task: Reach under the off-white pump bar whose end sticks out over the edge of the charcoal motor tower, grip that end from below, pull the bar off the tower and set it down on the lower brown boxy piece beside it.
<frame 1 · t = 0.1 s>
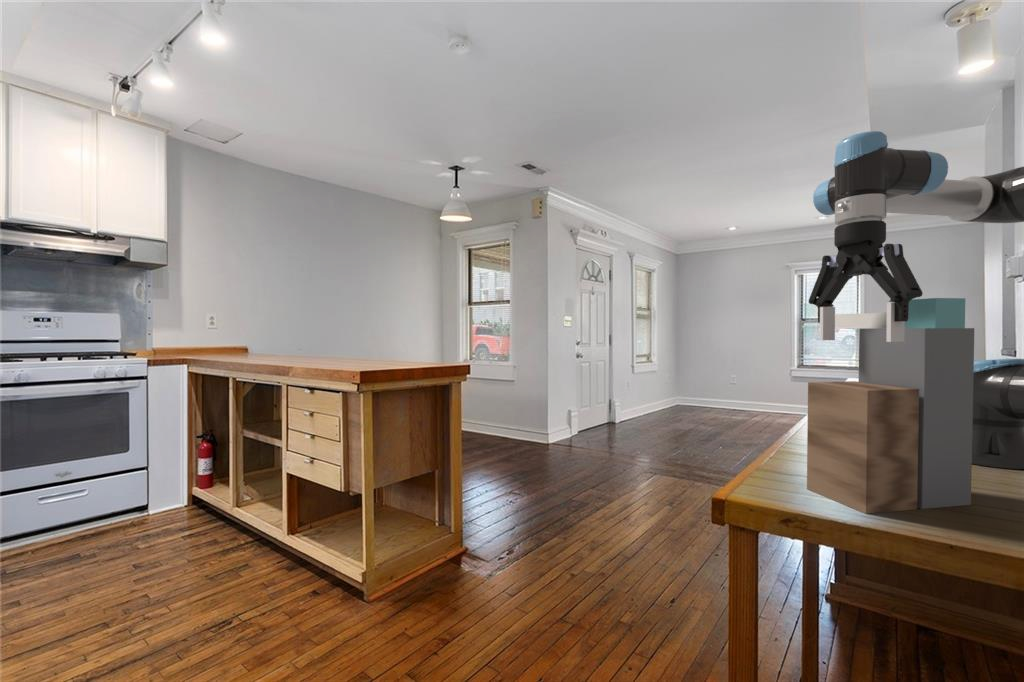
hand: (858, 341, 85), 28 cm above the table, fingers open, 13 cm apart
brown boxy piece: (858, 498, 83), on the table
pump bar: (886, 328, 89), point 30 cm above the table, touching motor tower
motor tower: (910, 494, 85), on the table
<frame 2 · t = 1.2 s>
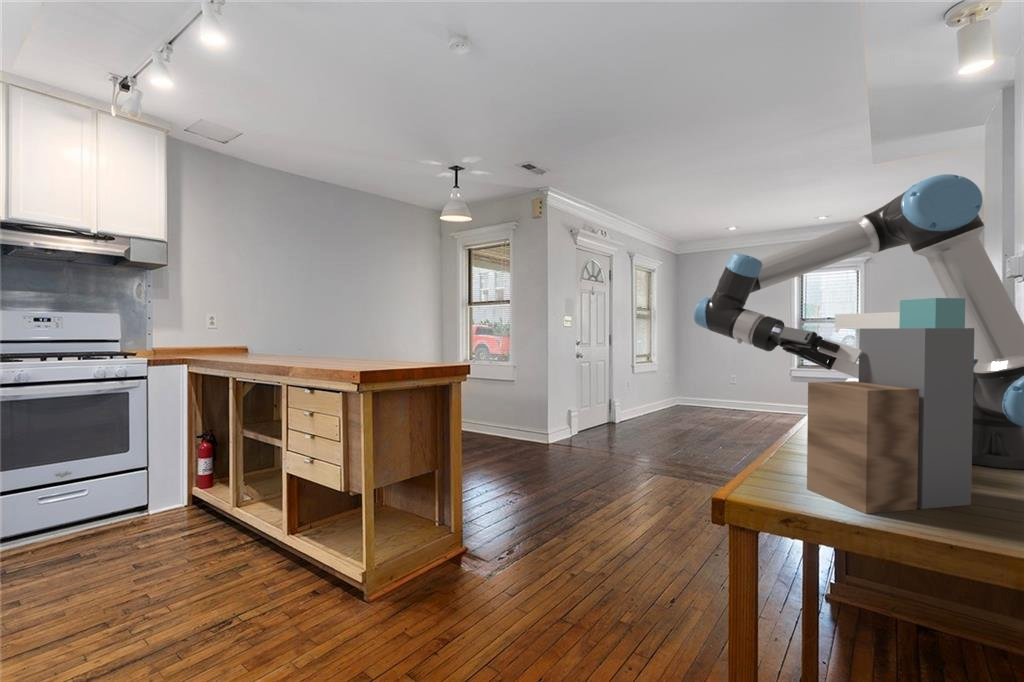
hand: (864, 366, 93), 22 cm above the table, fingers open, 13 cm apart
nothing on the table moved.
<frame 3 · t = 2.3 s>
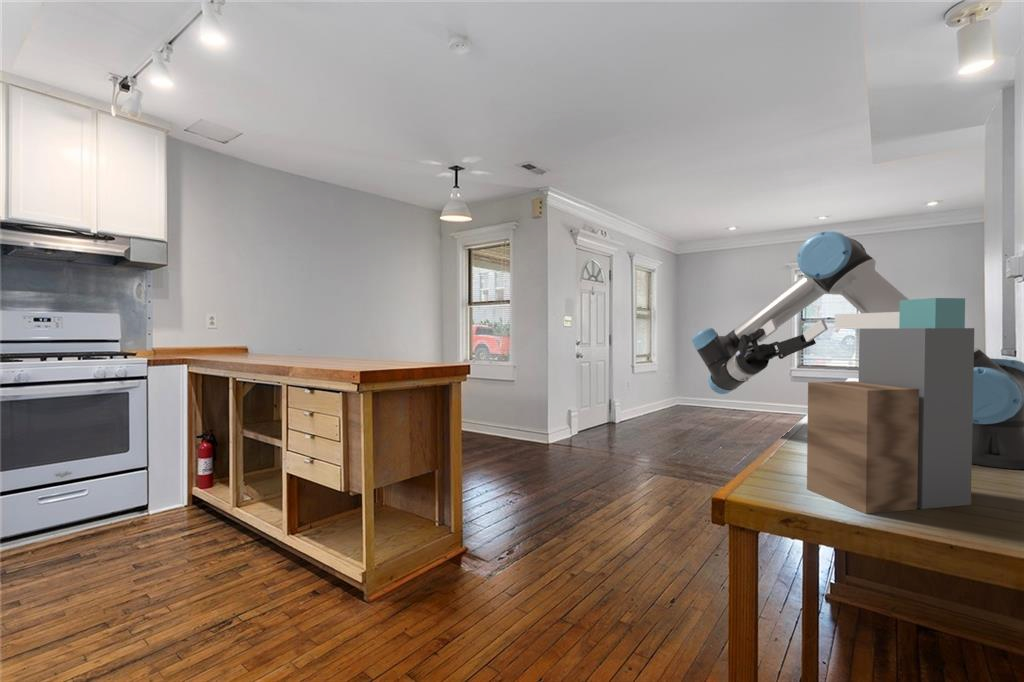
hand: (799, 324, 112), 31 cm above the table, fingers open, 13 cm apart
nothing on the table moved.
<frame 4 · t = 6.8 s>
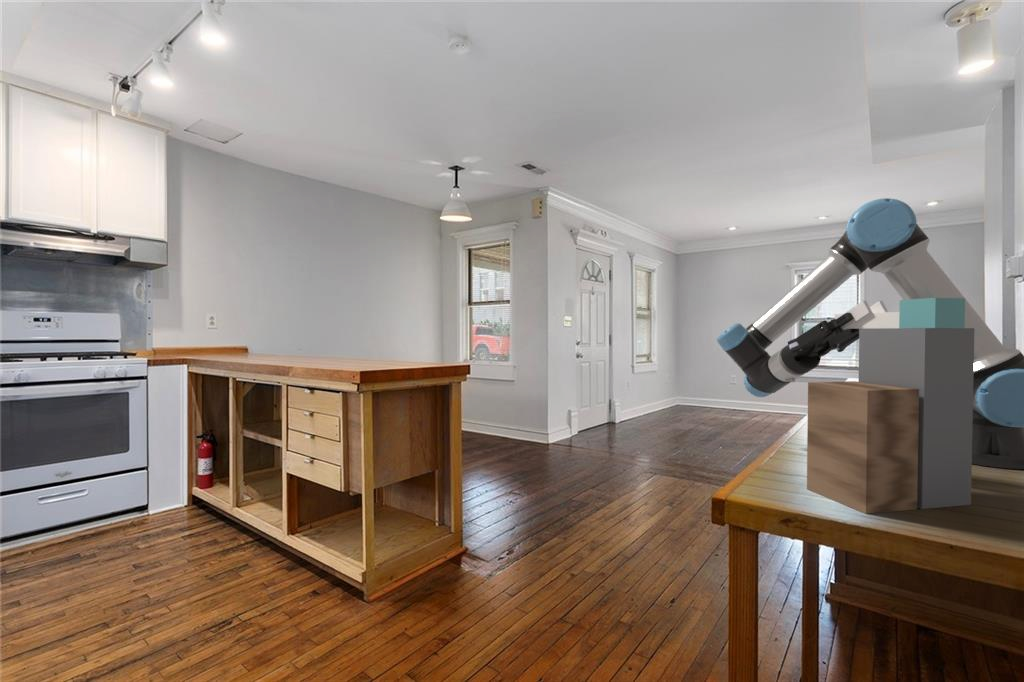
hand: (875, 306, 91), 34 cm above the table, fingers closed on pump bar, 3 cm apart
pump bar: (886, 328, 89), point 30 cm above the table, touching gripper
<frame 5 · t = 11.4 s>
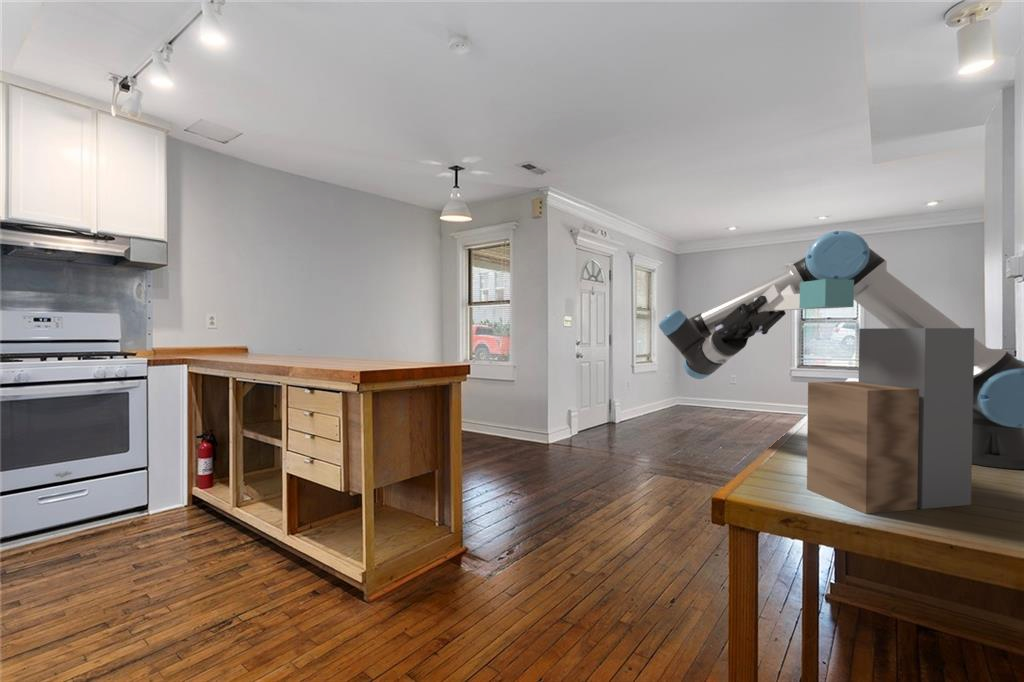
hand: (785, 289, 99), 38 cm above the table, fingers closed on pump bar, 3 cm apart
pump bar: (793, 309, 97), point 34 cm above the table, touching gripper
when the fingers open (26 cm above the table, at t = 16.4 s): pump bar drops 1 cm, resting on brown boxy piece.
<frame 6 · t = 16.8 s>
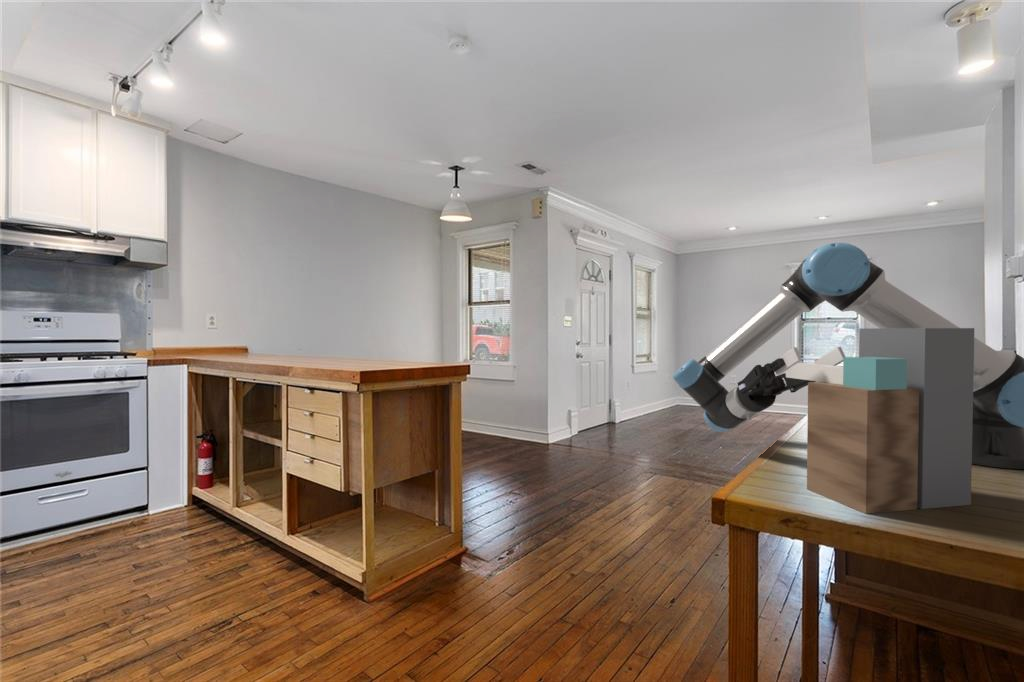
hand: (820, 353, 90), 25 cm above the table, fingers open, 9 cm apart
pump bar: (833, 382, 87), point 20 cm above the table, touching brown boxy piece
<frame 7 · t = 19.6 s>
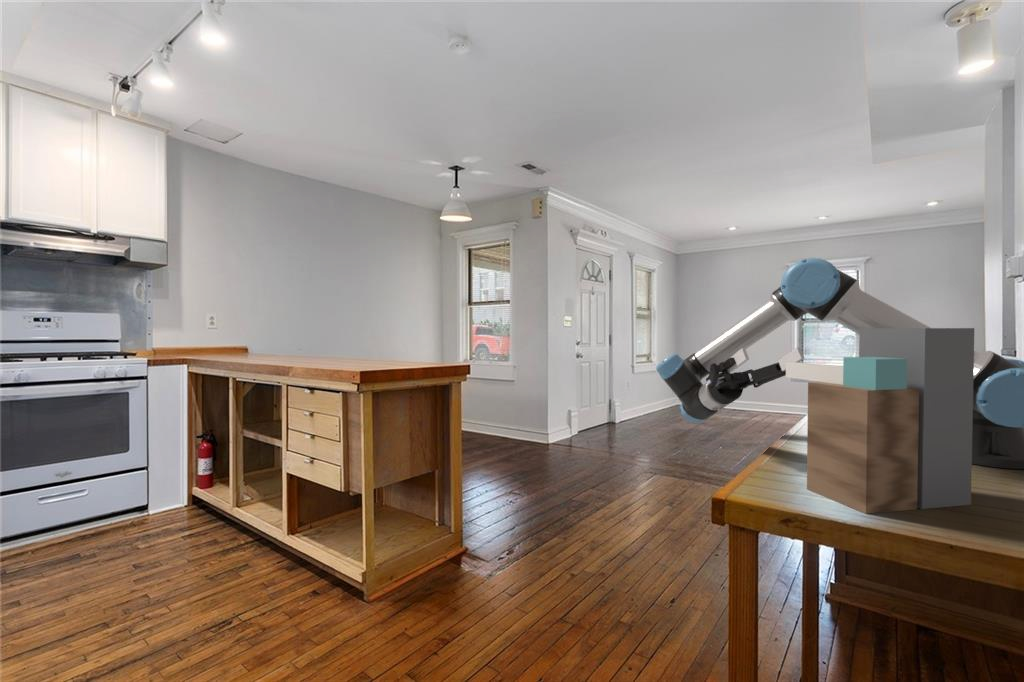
hand: (773, 353, 102), 25 cm above the table, fingers open, 13 cm apart
nothing on the table moved.
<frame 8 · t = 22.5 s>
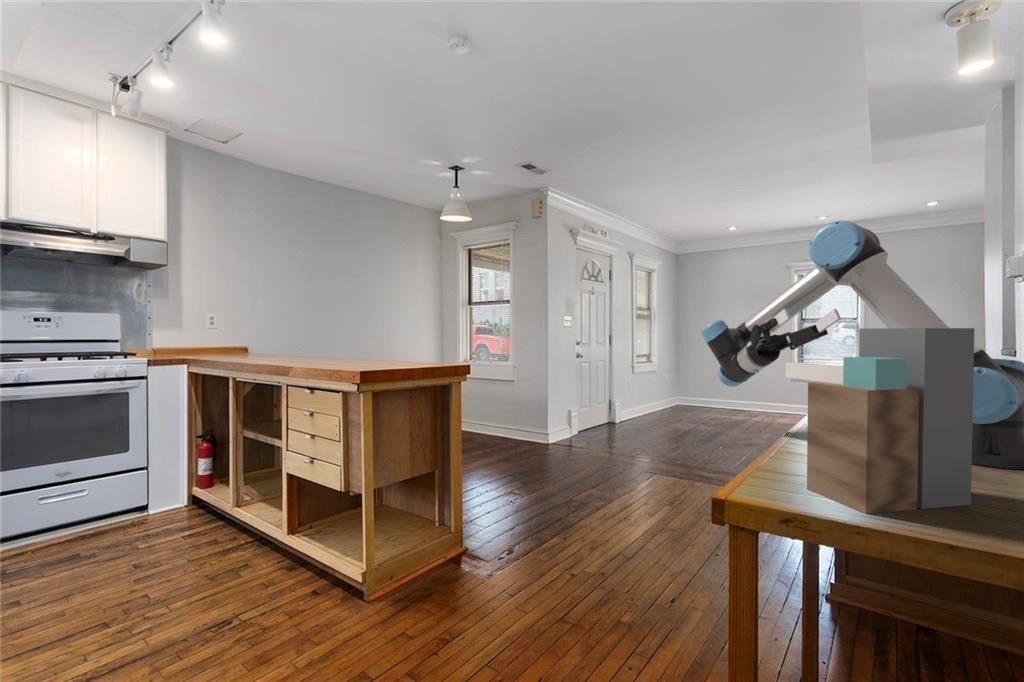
hand: (813, 313, 111), 34 cm above the table, fingers open, 13 cm apart
nothing on the table moved.
at the end: pump bar inside the target area (0.6 cm from its centre), point 20.0 cm above the table; the gripper is holding nothing; pump bar tilted 0° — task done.
